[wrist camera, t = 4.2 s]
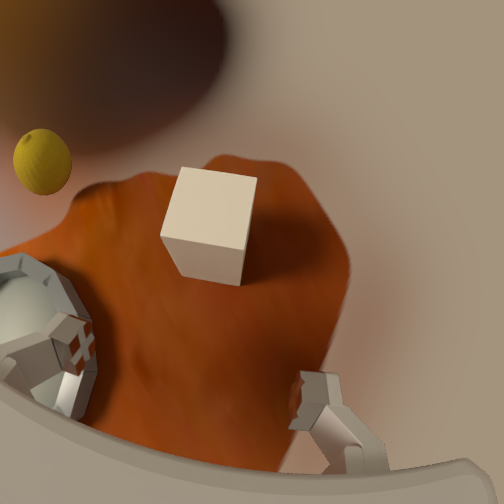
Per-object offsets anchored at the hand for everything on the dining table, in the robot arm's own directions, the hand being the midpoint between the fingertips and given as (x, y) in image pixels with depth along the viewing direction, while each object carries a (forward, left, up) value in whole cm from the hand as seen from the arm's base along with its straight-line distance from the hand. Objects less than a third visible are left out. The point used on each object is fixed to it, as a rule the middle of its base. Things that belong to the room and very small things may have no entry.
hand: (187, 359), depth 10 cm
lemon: (+18, +13, -12) cm, 25 cm away
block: (+8, -2, -11) cm, 14 cm away
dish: (+2, +17, -11) cm, 21 cm away
